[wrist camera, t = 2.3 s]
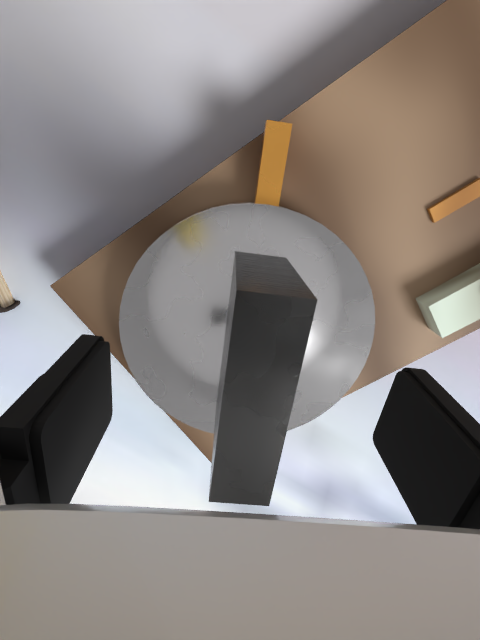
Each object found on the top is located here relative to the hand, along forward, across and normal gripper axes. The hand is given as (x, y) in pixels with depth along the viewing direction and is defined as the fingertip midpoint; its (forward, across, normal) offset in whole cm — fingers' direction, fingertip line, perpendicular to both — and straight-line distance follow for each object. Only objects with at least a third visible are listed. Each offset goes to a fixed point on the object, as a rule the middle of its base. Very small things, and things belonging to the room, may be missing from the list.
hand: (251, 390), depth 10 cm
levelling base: (+9, -4, -2) cm, 10 cm away
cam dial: (+6, 0, -1) cm, 6 cm away
